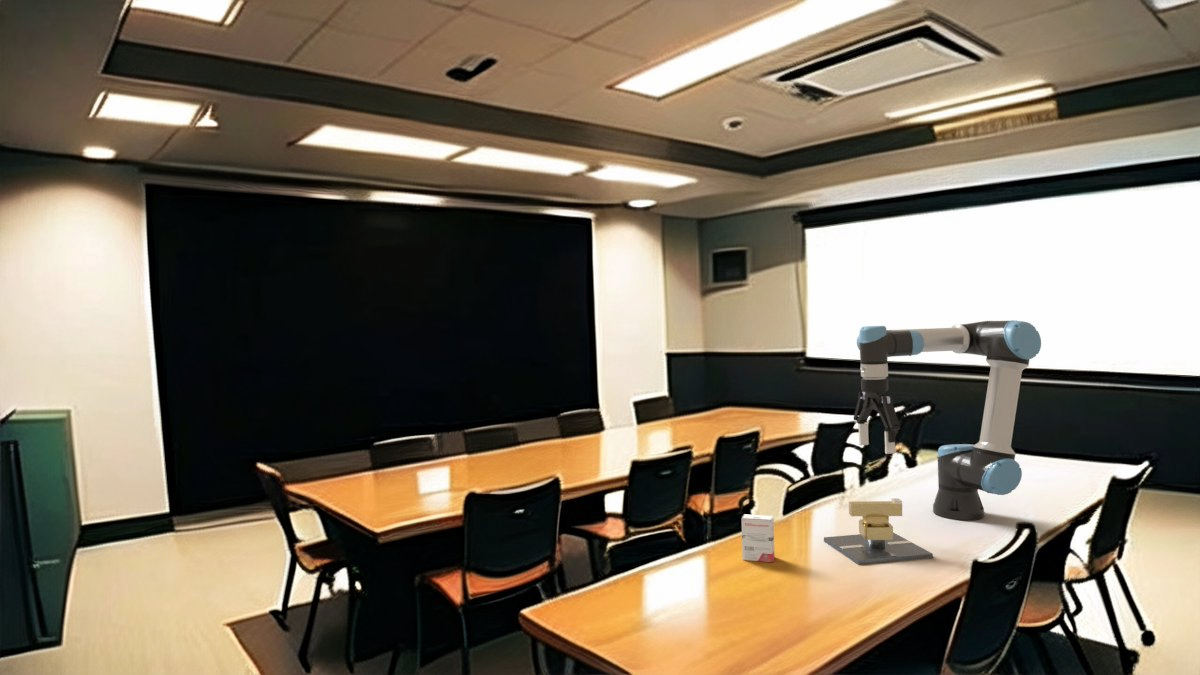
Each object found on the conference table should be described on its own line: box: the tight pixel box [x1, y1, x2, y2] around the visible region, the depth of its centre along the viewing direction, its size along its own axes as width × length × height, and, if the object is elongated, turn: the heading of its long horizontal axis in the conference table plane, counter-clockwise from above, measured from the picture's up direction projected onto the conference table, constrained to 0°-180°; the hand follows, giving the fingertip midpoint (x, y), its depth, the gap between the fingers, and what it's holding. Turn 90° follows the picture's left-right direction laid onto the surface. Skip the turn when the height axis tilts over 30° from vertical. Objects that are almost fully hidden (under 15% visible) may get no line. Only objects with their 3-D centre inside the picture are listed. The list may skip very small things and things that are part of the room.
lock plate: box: [823, 526, 934, 566], centre depth 199 cm, size 22×20×7 cm
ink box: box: [741, 513, 775, 563], centre depth 195 cm, size 9×5×12 cm, turn 71°
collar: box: [848, 498, 903, 540], centre depth 199 cm, size 8×14×10 cm, turn 85°
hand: (876, 449), depth 207 cm, fingers open, 13 cm apart
